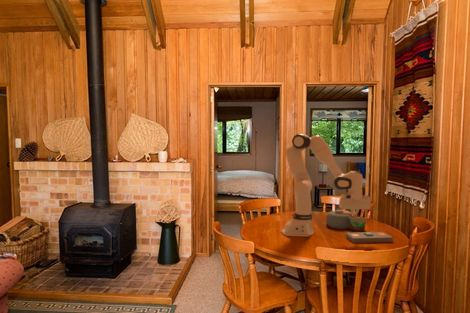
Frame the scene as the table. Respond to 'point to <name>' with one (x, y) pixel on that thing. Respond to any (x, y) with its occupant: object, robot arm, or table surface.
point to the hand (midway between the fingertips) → (354, 215)
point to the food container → (357, 223)
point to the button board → (369, 237)
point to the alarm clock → (339, 219)
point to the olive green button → (368, 234)
